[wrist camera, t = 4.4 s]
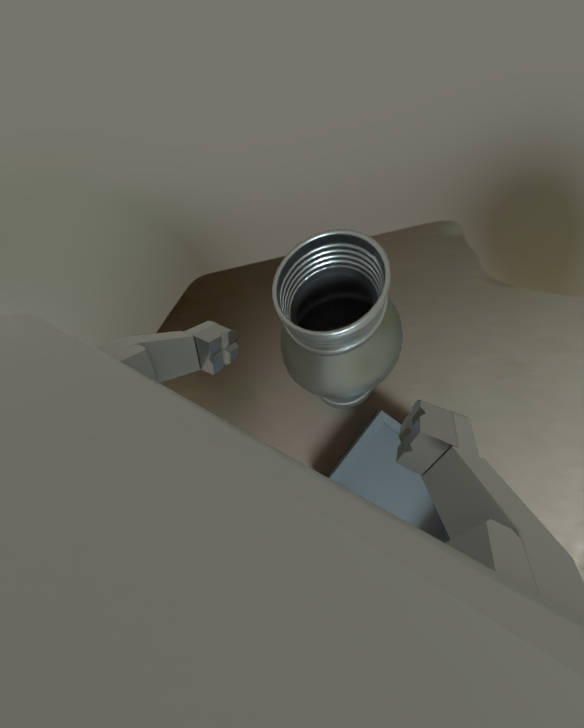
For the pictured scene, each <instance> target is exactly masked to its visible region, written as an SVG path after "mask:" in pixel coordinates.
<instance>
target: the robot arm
mask: <svg viewBox="0 0 584 728" xmlns="http://www.w3.org/2000/svg"><path fill="white" fill-rule="evenodd" d="M237 339H238V334H237V332H236V331H235V330H233V329H231V328H228V327H226V326H223V325H221V324H218V323H216V322H213V321H206V322H204V323H202V324H200V325H197V326H195V327H193V328H191V329H188V330H186V331H184V332H182V331H175V332H165V333H155V334H145V335H135V336H126V337H122V338H120V339H117V340H114V341H112V342H109V343H106V344H104V345H101V346H98V347H96V348H95V347H94V346H92V345H90V344H88V343H86V342H85V341H83V340H81V339H79V338H78V337H76V336H74V335H72V334H70V333H69V332H67V331H65V330H63V329H62V328H60V327H58V326H56V325H54V324H53V323H51V322H49V321H47V320H46V319H43V318H42V317H39V316H37V315H32V314H13V315H0V728H584V583H583V580H582V578H581V576H580V574H579V571H578V569H577V567H576V565H575V562H574V560H573V558H572V557H571V556H570V555H569V554H568V552H567V551H566V550H565V549H564V548H563V547H562V546H561V545H560V543H559V542H558V541H557V540H556V539H555V538H554V537H553V536H552V534H551V533H550V532H549V531H548V530H547V529H546V528H545V526H544V525H543V524H542V523H541V522H540V521H539V520H538V519H537V517H536V516H535V515H534V514H533V513H532V512H531V511H530V510H529V508H528V507H527V506H526V505H525V504H524V503H523V502H522V501H521V499H520V498H519V497H518V496H517V495H516V494H515V493H514V492H513V490H512V489H511V488H510V487H509V486H508V485H507V484H506V482H505V481H504V480H503V479H502V478H501V477H500V476H499V475H498V473H497V472H496V471H495V470H494V469H493V468H492V467H491V466H490V464H489V463H488V462H487V461H486V460H485V459H483V458H481V457H479V454H478V450H477V446H476V442H475V438H474V434H473V430H472V426H471V422H470V419H469V418H468V417H466V416H464V415H461V414H458V413H455V412H452V411H448V410H445V409H443V408H440V407H437V406H434V405H432V404H429V403H426V402H424V401H421V400H418V401H417V402H416V403H415V404H414V406H413V408H412V414H409V415H407V416H406V418H405V420H404V421H403V424H402V426H401V429H400V433H399V439H400V441H401V444H400V445H399V446H398V449H397V459H396V463H397V464H399V465H401V466H403V467H405V468H407V469H409V470H411V471H413V472H415V473H417V474H419V475H421V476H422V479H423V482H424V484H425V486H426V488H427V490H428V492H429V495H430V497H431V499H432V501H433V503H434V505H435V507H436V510H437V512H438V514H439V516H440V518H441V520H442V522H443V525H444V527H445V529H446V531H447V533H448V535H449V538H450V540H449V541H448V542H446V543H444V542H442V541H440V540H438V539H437V538H435V537H433V536H431V535H430V534H428V533H426V532H424V531H422V530H421V529H419V528H417V527H415V526H413V525H412V524H410V523H408V522H406V521H405V520H403V519H401V518H399V517H397V516H396V515H394V514H392V513H390V512H388V511H387V510H385V509H383V508H381V507H379V506H378V505H376V504H374V503H372V502H371V501H369V500H367V499H365V498H363V497H362V496H360V495H358V494H356V493H354V492H353V491H351V490H349V489H347V488H346V487H344V486H342V485H340V484H338V483H337V482H335V481H333V480H331V479H329V478H328V477H326V476H324V475H322V474H321V473H319V472H317V471H315V470H313V469H312V468H310V467H308V466H306V465H304V464H303V463H301V462H299V461H297V460H296V459H294V458H292V457H290V456H288V455H287V454H285V453H283V452H281V451H279V450H278V449H276V448H274V447H272V446H270V445H269V444H267V443H265V442H263V441H262V440H260V439H258V438H256V437H254V436H253V435H251V434H249V433H247V432H245V431H244V430H242V429H240V428H238V427H236V426H235V425H233V424H231V423H229V422H227V421H226V420H224V419H222V418H220V417H219V416H217V415H215V414H213V413H211V412H210V411H208V410H206V409H204V408H203V407H201V406H199V405H197V404H195V403H194V402H192V401H190V400H188V399H187V398H185V397H183V396H181V395H179V394H178V393H176V392H174V391H172V390H171V389H169V388H167V387H165V386H163V385H162V384H160V382H163V381H166V380H170V379H173V378H176V377H179V376H183V375H186V374H189V373H192V372H196V371H199V370H200V369H201V370H204V371H206V372H208V373H210V374H213V375H215V374H217V373H218V372H219V371H221V370H222V369H224V367H225V365H226V364H230V363H232V362H233V361H234V360H235V359H236V357H237V356H238V352H239V347H238V345H237V343H236V341H237Z"/></svg>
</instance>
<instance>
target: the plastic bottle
mask: <svg viewBox="0 0 584 728" xmlns="http://www.w3.org/2000/svg"><path fill="white" fill-rule="evenodd" d="M390 281H391V270H390V264H389V260H388V257H387V255H386V253H385V251H384V250H383V248H382V247H381V246H380V244H379V243H378V242H376V241H375V240H374V239H373V238H371V237H370V236H368V235H366V234H363V233H361V232H357V231H354V230H346V229H337V230H328V231H325V232H321V233H318V234H315V235H313V236H311V237H309V238H307V239H306V240H304V241H302V242H301V243H299V244H298V245H297V246H296V247H294V248H293V249H292V250H291V251H290V252H289V253H288V254H287V255H286V257H285V258H284V259H283V260H282V262H281V264H280V265H279V267H278V269H277V271H276V274H275V276H274V280H273V286H272V298H273V303H274V307H275V310H276V312H277V314H278V316H279V318H280V319H281V321H282V322H283V326H282V332H281V352H282V357H283V361H284V364H285V366H286V368H287V371H288V373H289V374H290V375H291V377H292V378H293V379H294V381H295V382H296V383H298V384H299V385H300V386H301V387H302V388H303V389H305V390H307V391H309V392H311V393H312V394H315V395H318V396H319V397H320V399H321V400H322V401H323V402H325V403H326V404H328V405H330V406H332V407H335V408H340V409H346V408H352V407H355V406H357V405H359V404H361V403H362V402H363V401H365V400H366V399H367V398H368V396H369V395H370V394H371V392H372V390H373V388H374V387H375V386H377V385H378V384H379V383H381V382H382V381H383V380H384V379H385V378H386V377H387V376H388V374H389V373H390V372H391V371H392V370H393V368H394V366H395V364H396V362H397V360H398V359H399V355H400V352H401V348H402V340H403V332H402V326H401V320H400V315H399V313H398V311H397V308H396V306H395V304H394V303H393V301H392V300H391V299H390V297H389V296H388V292H389V289H390Z"/></svg>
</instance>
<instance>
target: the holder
mask: <svg viewBox="0 0 584 728" xmlns="http://www.w3.org/2000/svg"><path fill="white" fill-rule="evenodd" d="M401 426H402V425H401V424H400V423H399V422H397V421H396V420H394V419H393V418H392V417H390V416H389V415H388V414H386V413H385V412H383V411H382V410H380V411H377V413H376V414H375V415H374V416H373V418H372V419H371V420H370V422H369V423H368V424H367V426H366V427H365V428H364V429H363V431H362V432H361V433H360V435H359V436H358V437H357V439H356V440H355V441H354V442H353V444H352V445H351V446H350V448H349V449H348V450H347V452H346V453H345V454H344V455H343V457H342V458H341V459H340V461H339V462H338V463H337V465H336V466H335V467H334V468H333V470H332V471H331V472H330V474H329V475H328V476H327V477H328V478H329V479H331V480H333V481H335V482H337V483H338V484H340V485H342V486H344V487H346V488H347V489H349V490H351V491H353V492H354V493H356V494H358V495H360V496H362V497H363V498H365V499H367V500H369V501H371V502H372V503H374V504H376V505H378V506H379V507H381V508H383V509H385V510H387V511H388V512H390V513H392V514H394V515H396V516H397V517H399V518H401V519H403V520H405V521H406V522H408V523H410V524H412V525H413V526H415V527H417V528H419V529H421V530H422V531H424V532H426V533H428V534H430V535H431V536H433V537H435V538H437V539H438V540H440V541H442V542H444V543H446V542H448V541H449V540H450V538H449V535H448V533H447V531H446V529H445V527H444V525H443V522H442V520H441V518H440V516H439V514H438V512H437V510H436V507H435V505H434V503H433V501H432V499H431V497H430V495H429V492H428V490H427V488H426V486H425V484H424V482H423V479H422V476H421V475H419V474H417V473H415V472H413V471H411V470H409V469H407V468H405V467H403V466H401V465H399V464H397V463H396V459H397V449H398V446H399V445H400V444H401V441H400V439H399V433H400V429H401Z"/></svg>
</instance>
